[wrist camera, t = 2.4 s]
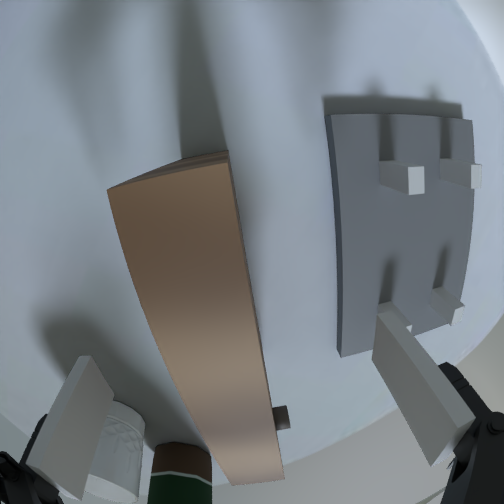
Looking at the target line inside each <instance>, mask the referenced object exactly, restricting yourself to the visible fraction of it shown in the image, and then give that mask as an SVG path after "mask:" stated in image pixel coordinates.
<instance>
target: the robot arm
mask: <svg viewBox="0 0 504 504" xmlns="http://www.w3.org/2000/svg"><path fill="white" fill-rule="evenodd" d="M372 361H373V363H374V364H375V366H376V368H377V369H378V371H379V373H380V375H381V376H382V378H383V380H384V382H385V383H386V385H387V387H388V389H389V390H390V392H391V394H392V396H393V397H394V399H395V401H396V403H397V405H398V406H399V408H400V410H401V412H402V414H403V415H404V417H405V419H406V421H407V423H408V425H409V427H410V428H411V430H412V432H413V434H414V436H415V437H416V439H417V442H418V443H419V445H420V447H421V449H422V451H423V453H424V455H425V457H426V459H427V461H428V463H429V465H430V467H432V466H434V465H436V464H438V463H439V462H442V461H443V460H445V459H447V458H448V457H449V456H450V454H451V453H452V452H454V454H455V455H456V457H455V458H454V459H453V460H452V462H451V463H450V464H449V466H448V468H447V469H450V468H451V467H452V470H451V473H450V476H449V479H448V483H447V486H446V489H445V492H444V495H443V498H442V501H441V503H440V504H504V414H503V413H500V412H492V411H491V410H490V409H489V408H488V407H487V406H486V404H485V403H484V402H483V400H482V399H481V398H480V396H479V395H478V394H477V392H476V391H475V390H474V389H473V388H472V386H471V385H469V382H468V381H467V380H466V379H465V378H464V376H463V375H462V374H461V373H460V371H459V370H458V369H457V368H456V367H455V366H453V365H451V364H449V363H448V362H445V363H443V364H440V365H438V366H437V365H436V363H435V362H434V361H433V359H432V358H431V357H430V356H429V354H428V353H427V352H426V351H425V349H424V348H423V347H422V346H421V345H420V343H419V342H418V341H417V340H416V338H415V337H414V336H413V335H412V334H411V332H410V331H409V330H408V329H407V328H406V326H405V325H404V324H403V323H402V322H401V320H400V319H399V318H398V317H397V316H396V315H395V313H394V312H393V311H392V310H391V311H387V312H383V313H380V314H377V318H376V329H375V338H374V346H373V354H372ZM114 395H115V394H114V393H113V391H112V390H111V388H110V386H109V385H108V383H107V381H106V380H105V378H104V376H103V375H102V373H101V371H100V370H99V368H98V366H97V364H96V363H95V361H94V359H93V357H92V355H90V356H79V358H78V359H77V361H76V363H75V364H74V366H73V368H72V370H71V372H70V373H69V375H68V377H67V379H66V381H65V382H64V384H63V386H62V388H61V390H60V392H59V394H58V396H57V397H56V399H55V401H54V403H53V405H52V407H51V409H50V411H49V413H48V414H45V415H44V416H43V417H42V418H41V419H40V420H39V421H38V423H37V426H36V428H35V432H33V434H32V436H31V437H32V438H30V440H29V443H28V445H27V447H26V449H25V451H24V454H23V456H22V458H21V460H20V463H17V462H16V461H15V460H14V459H13V458H12V457H11V456H10V455H9V454H8V453H7V452H4V451H1V452H0V504H1V501H2V502H4V503H5V504H64V503H63V501H62V499H61V498H60V496H58V493H59V491H60V492H61V493H63V494H64V495H65V496H67V497H69V498H72V499H75V500H79V501H81V500H82V497H83V493H84V489H85V485H86V482H87V478H88V475H89V471H90V468H91V464H92V461H93V458H94V454H95V451H96V448H97V445H98V442H99V439H100V436H101V433H102V430H103V427H104V424H105V421H106V418H107V415H108V412H109V409H110V406H111V404H112V401H113V398H114Z"/></svg>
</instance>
